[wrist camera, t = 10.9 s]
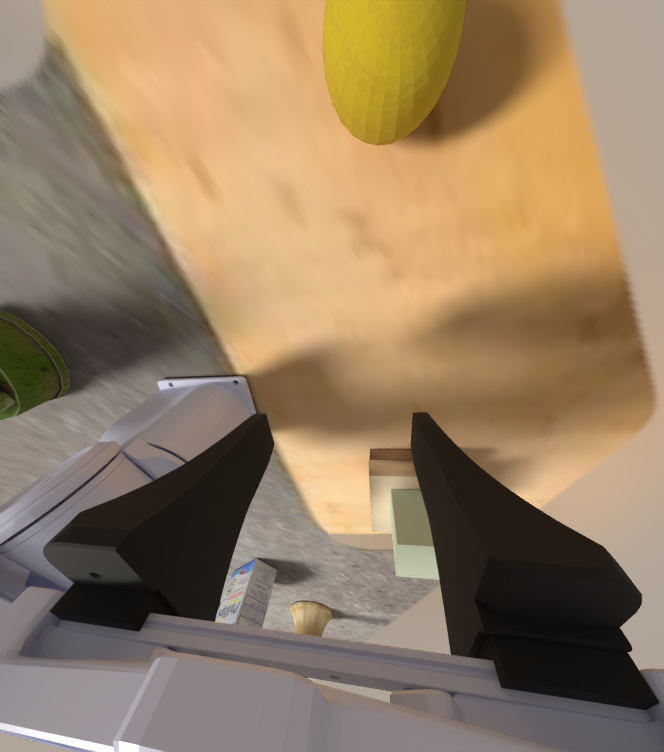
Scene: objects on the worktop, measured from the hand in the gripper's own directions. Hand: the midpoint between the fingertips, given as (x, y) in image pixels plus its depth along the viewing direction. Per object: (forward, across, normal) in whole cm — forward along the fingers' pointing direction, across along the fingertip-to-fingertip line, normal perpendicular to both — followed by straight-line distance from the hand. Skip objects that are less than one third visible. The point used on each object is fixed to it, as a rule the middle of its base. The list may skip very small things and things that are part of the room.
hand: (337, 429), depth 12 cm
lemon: (+11, -3, -15) cm, 19 cm away
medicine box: (+10, +19, +40) cm, 46 cm away
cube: (+7, -6, +16) cm, 18 cm away
